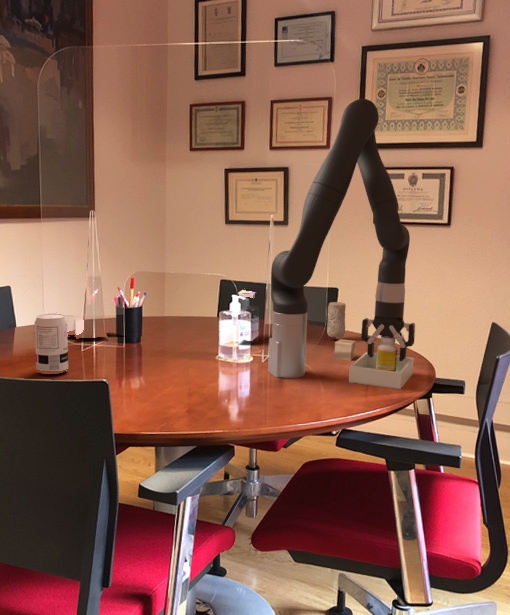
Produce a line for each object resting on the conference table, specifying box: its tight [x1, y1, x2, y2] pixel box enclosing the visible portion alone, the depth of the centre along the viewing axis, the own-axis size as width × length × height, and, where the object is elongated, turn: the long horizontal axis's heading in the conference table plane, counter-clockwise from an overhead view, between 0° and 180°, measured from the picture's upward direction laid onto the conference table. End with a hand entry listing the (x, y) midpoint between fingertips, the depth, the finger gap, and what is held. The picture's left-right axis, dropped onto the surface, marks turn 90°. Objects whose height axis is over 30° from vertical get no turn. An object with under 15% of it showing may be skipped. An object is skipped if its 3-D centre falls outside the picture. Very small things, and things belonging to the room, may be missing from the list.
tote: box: [348, 351, 415, 390], centre depth 165 cm, size 17×13×5 cm
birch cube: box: [333, 338, 357, 361], centre depth 187 cm, size 5×5×5 cm
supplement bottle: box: [376, 335, 398, 372], centre depth 168 cm, size 5×5×10 cm
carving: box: [326, 301, 347, 338], centre depth 215 cm, size 6×8×12 cm
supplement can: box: [33, 313, 69, 371], centre depth 164 cm, size 8×8×15 cm
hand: (386, 358), depth 168 cm, fingers open, 7 cm apart
